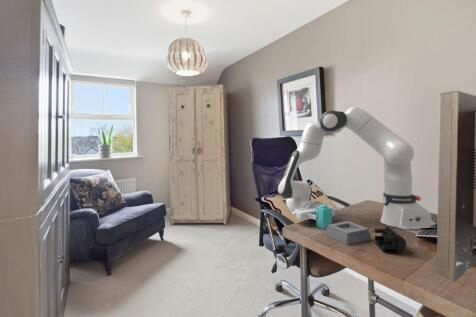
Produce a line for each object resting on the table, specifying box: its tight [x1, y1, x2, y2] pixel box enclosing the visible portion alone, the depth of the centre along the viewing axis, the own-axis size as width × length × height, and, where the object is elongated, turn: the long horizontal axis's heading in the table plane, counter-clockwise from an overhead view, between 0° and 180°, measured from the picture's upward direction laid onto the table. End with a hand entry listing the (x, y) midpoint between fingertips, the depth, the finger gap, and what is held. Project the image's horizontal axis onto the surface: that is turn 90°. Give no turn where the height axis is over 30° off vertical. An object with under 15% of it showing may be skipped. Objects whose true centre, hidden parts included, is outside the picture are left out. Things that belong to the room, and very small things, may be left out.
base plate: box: [325, 220, 372, 246], centre depth 108 cm, size 12×12×4 cm
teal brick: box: [315, 204, 333, 230], centre depth 122 cm, size 5×5×10 cm
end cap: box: [374, 226, 407, 255], centre depth 96 cm, size 10×7×7 cm
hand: (325, 216), depth 121 cm, fingers open, 8 cm apart
